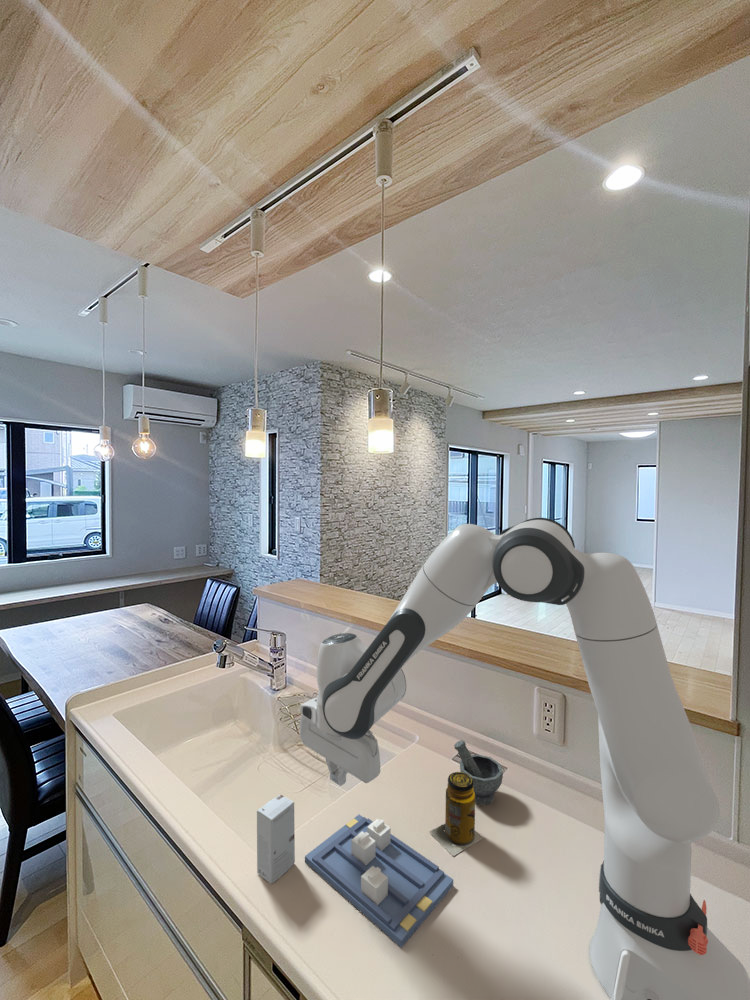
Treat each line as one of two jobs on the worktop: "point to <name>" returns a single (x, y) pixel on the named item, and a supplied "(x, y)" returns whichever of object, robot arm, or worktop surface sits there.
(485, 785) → the mortar and pestle
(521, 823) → the worktop surface
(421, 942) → the worktop surface
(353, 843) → the tab
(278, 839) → the skincare box
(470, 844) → the condiment
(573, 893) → the worktop surface
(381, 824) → the tab
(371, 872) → the tab
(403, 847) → the switch bank
